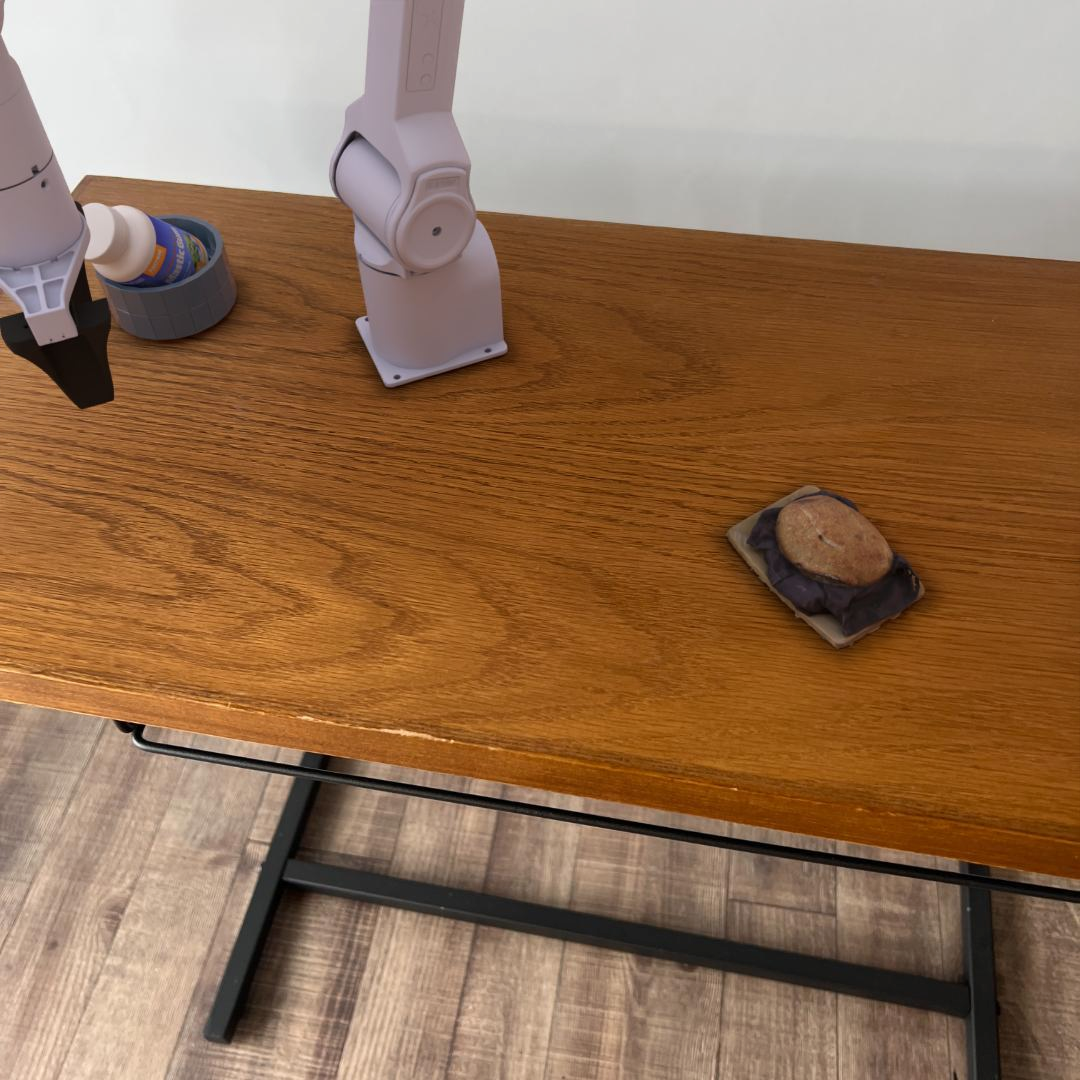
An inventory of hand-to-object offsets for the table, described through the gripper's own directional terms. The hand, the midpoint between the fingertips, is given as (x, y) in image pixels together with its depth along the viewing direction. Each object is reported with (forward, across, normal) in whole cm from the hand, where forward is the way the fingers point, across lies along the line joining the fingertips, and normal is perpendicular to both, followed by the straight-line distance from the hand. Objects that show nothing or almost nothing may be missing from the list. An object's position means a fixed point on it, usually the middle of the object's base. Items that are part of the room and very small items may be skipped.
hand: (87, 361), depth 66 cm
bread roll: (+10, +26, +38) cm, 47 cm away
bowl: (+9, -16, +6) cm, 20 cm away
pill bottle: (+7, -17, +7) cm, 20 cm away
